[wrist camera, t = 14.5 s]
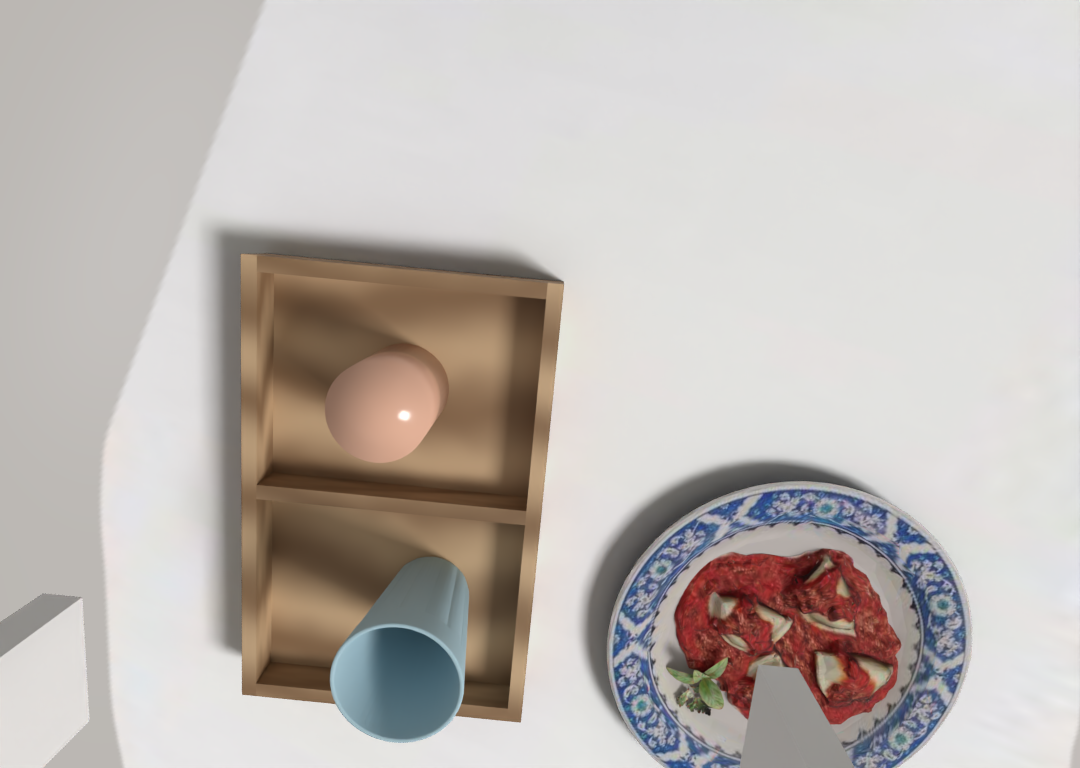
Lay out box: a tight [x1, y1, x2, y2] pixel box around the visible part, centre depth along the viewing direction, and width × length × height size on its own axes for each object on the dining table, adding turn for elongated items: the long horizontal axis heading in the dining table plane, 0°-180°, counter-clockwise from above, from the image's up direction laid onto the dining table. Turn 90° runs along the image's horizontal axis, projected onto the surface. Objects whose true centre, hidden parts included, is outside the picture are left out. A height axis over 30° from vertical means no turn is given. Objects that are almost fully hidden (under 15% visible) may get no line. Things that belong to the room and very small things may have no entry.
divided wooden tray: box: [241, 253, 564, 722], centre depth 45 cm, size 31×20×4 cm, turn 175°
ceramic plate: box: [607, 481, 972, 768], centre depth 47 cm, size 26×26×3 cm
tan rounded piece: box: [325, 343, 449, 463], centre depth 41 cm, size 6×6×7 cm
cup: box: [330, 557, 469, 743], centre depth 42 cm, size 8×8×10 cm
